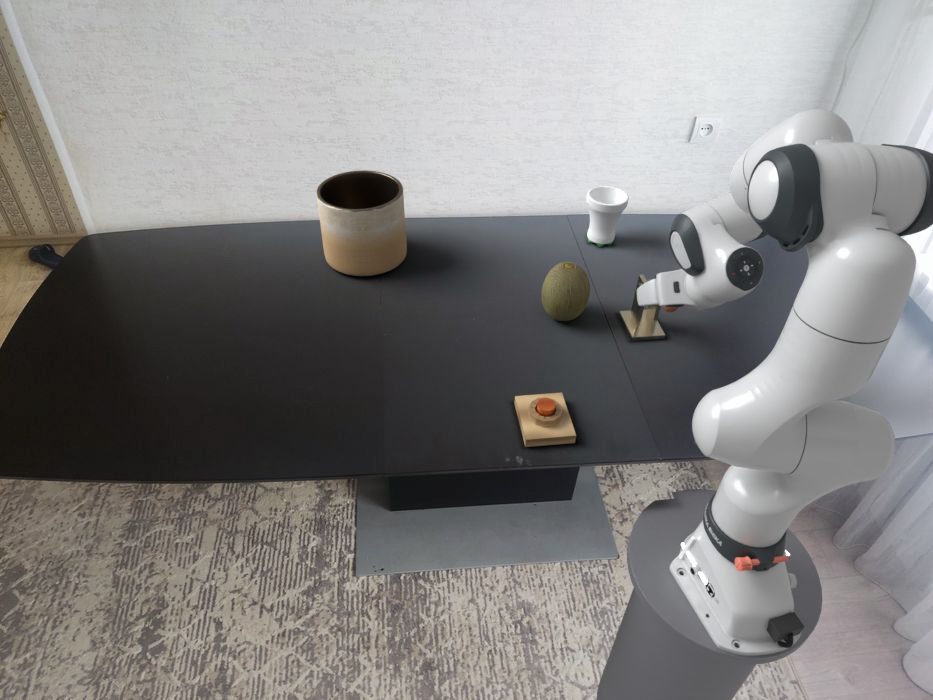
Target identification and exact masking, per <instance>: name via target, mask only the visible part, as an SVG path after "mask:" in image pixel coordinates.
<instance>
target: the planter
mask: <svg viewBox="0 0 933 700" xmlns="http://www.w3.org/2000/svg"><path fill="white" fill-rule="evenodd" d="M404 196H405V195H404V187H403V184H402V183H401V181H400V180H399V179H397V177H394V176H393V175H391V174H388V173H385V172H381V171H377V170H364V169H362V170H361V169H360V170H350V171H344V172H340V173H337V174H334V175H332V176H330V177H328V178H326V179H324V180H323V181H321V183H320V184H319V185H318V187H317V188H316V199H317V200H316V202H317V209H318V216H319V225H320V232H321V239H322V240H321V241H322V248H323V254H324V258H325V261H326V263H327V264H328V265H329V267H331V268H332V269H333V270H335V271H336V272H339V273H342V274H344V275H347V276H353V277H374V276H379V275H383V274H385V273H388V272H390V271H392V270H394V269H396V268H397V267H399V266H400V265H401V264H402V263H403V261H405V258H406V257H407V253H408V243H407V227H406V214H405V200H404V199H405V197H404Z"/></svg>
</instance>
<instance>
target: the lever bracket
mask: <svg viewBox="0 0 933 700" xmlns="http://www.w3.org/2000/svg"><path fill="white" fill-rule="evenodd" d="M657 274H658V273H655V275H654V279H656V275H657ZM646 279H647V278H646V277H645V275H644V274H639V275H638V279H637V283H636V287H635V291H634V296H633V298H632V299H633V300H632V304H631V309H630V310H620V311H619V312H618V316H619V319H620V321H621V322H622V325H623V326H624V329H625V331H626V333H627V334H628V337H629V339H630V341H631V342H639V341H640V342H641V341H653V340H665V337H666V333H665V332H664V330H663V328H662V327H661V325H660V323H659V321H658V319H659V314H660V311H661V308H662V307H661V306H660V305H654V306H646V307H647V308H646V309H645V306H639V305H638V301H637V289H638V288H639V287H640V286H641V285H643V284H644V283H646V282H647V280H646Z"/></svg>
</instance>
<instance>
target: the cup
mask: <svg viewBox="0 0 933 700" xmlns="http://www.w3.org/2000/svg"><path fill="white" fill-rule="evenodd" d="M629 199H630V197H629V195H628V194H627V192H626V191H624V190H623V189H621V188H619V187H615V186H610V185H598V186H594V187H592V188H590V189H589V190H588V191H587V192H586V199H585V202H586V205H587V207H588V213H589V226H588V229H587V234H586V236H587V242H588V243H589V244H596V245H597V247H599V248H601V247H604V246H605V245H608V246H611V245H612V244H613V242H614V241H615V238H616V228H617V224H618V221H619V219H620V217H621V216H622V214H623V212H624V211H625V210H626V208H627V207H628V203H629Z"/></svg>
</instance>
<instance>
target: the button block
mask: <svg viewBox="0 0 933 700" xmlns="http://www.w3.org/2000/svg"><path fill="white" fill-rule="evenodd" d="M542 398H549V399H551V400H553V401H554V402H555V411H554V414H553V415H552V416H549V417H544V416H541V415H539V414H538V413H537V402H538V401H539V400H540V399H542ZM514 407H515V411H516V415H517V420H518V424H519V428H520V432H521V435H522V439H523V443H524V447H525V448H530V447H542V446H554V445H565V444H575V443H576V439H577V434H576V430H575V427H574V424H573V422H572V418H571V415H570V413H569V409H568V406H567V404H566V400H565V397H564V394H563V392H550V393H540V394H539V393H538V394H537V393H536V394H525V395H515V396H514Z"/></svg>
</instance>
